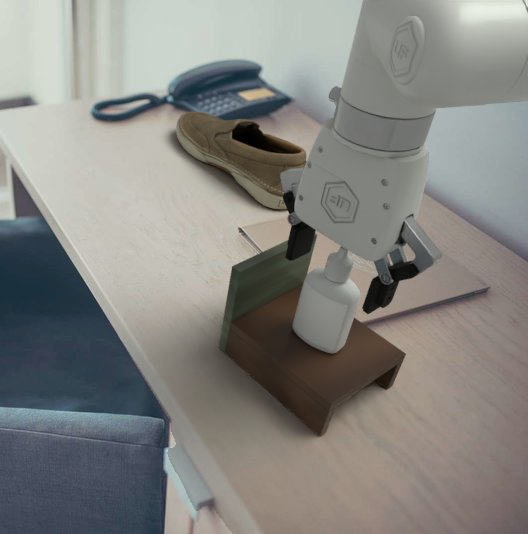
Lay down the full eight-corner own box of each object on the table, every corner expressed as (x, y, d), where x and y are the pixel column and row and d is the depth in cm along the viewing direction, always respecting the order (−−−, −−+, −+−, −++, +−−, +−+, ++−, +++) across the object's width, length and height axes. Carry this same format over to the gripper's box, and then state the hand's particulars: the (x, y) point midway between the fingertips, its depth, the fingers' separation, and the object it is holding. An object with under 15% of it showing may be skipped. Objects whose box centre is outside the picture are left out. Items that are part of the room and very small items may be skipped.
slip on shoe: (164, 134, 116) (167, 87, 110) (217, 124, 120) (223, 78, 114) (257, 220, 95) (267, 166, 90) (318, 204, 99) (331, 152, 94)
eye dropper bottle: (311, 359, 66) (338, 268, 59) (287, 323, 70) (309, 233, 63) (348, 352, 67) (380, 262, 60) (323, 317, 71) (349, 228, 64)
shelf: (392, 385, 70) (427, 303, 63) (319, 437, 65) (348, 353, 57) (289, 308, 80) (309, 229, 72) (218, 347, 74) (231, 266, 67)
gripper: (273, 94, 57) (245, 249, 67) (449, 177, 46) (383, 347, 57) (329, 77, 60) (294, 227, 71) (504, 150, 50) (433, 314, 60)
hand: (334, 280), depth 64 cm, fingers open, 9 cm apart
